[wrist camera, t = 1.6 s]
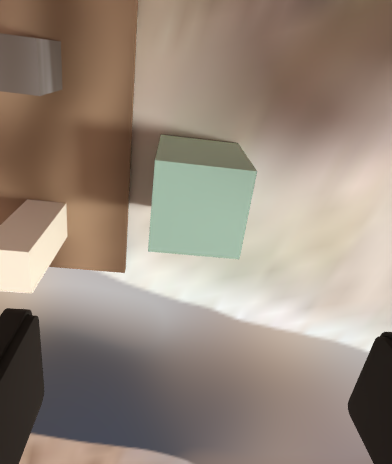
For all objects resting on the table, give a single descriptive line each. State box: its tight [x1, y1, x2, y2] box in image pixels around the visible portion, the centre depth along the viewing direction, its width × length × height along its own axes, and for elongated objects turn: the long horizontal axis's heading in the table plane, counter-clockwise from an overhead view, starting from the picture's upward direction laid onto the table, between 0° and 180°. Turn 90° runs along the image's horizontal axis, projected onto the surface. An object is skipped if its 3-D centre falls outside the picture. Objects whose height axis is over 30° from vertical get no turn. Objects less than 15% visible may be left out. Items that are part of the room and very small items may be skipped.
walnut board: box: [0, 0, 138, 273], centre depth 22 cm, size 11×18×5 cm, turn 173°
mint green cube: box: [148, 135, 257, 259], centre depth 22 cm, size 5×5×7 cm
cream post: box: [0, 199, 67, 293], centre depth 22 cm, size 3×3×7 cm
